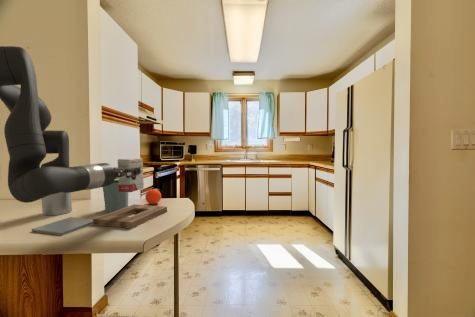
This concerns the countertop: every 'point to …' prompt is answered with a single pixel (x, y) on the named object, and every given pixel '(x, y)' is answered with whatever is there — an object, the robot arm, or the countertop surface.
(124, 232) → the countertop surface
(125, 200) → the grey cup
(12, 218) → the countertop surface
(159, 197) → the clementine
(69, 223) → the slate tile
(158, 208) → the frame
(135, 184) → the ink box
